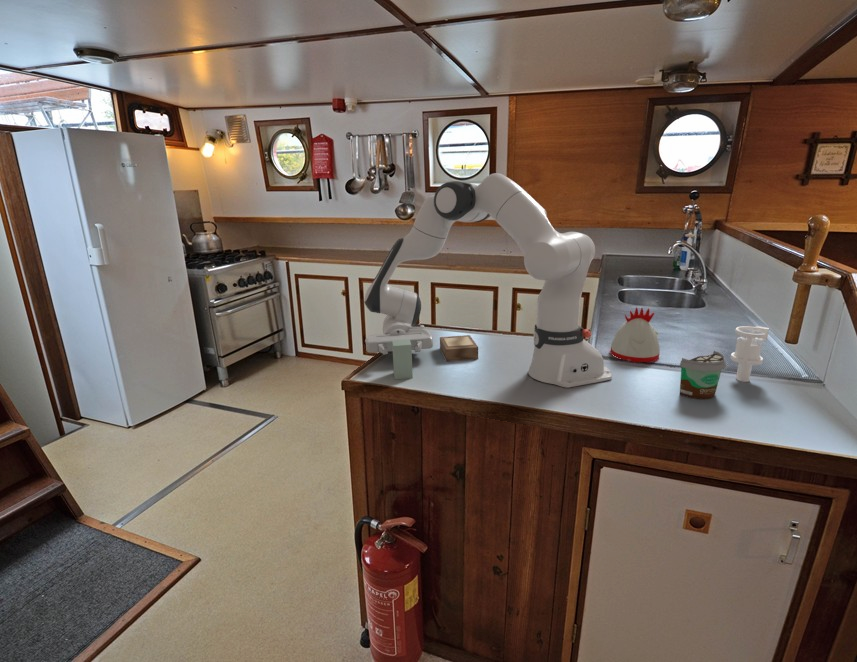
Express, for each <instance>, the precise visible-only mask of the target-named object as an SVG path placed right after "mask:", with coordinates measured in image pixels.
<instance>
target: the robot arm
mask: <svg viewBox="0 0 857 662" xmlns="http://www.w3.org/2000/svg"><path fill="white" fill-rule="evenodd" d="M490 217H491V218H492V219H493V220H494V221H495V222H496V223H497V224H498V225H499V226H500V227H501V228H502V229H503V230H504V231H505V232H506V233H507V234H508V235H509V236H510V237H511V239H512V240H513V241H514V242H515V244H517V246H518V248H519V249H520V252H521V253H522V255H523V265H524V268H525V270H526V272H527V273H528V274H529V275H530V277H532V278H533V279H536V280H539V281H544V284H543V286H542V288H541V291H540V293H539V294H538V296H537V299H536V300H537V301H536V305H537V306H536V324H535V325H534V329H533V330H534V331H533V345H534V347H533V354H532V359H531V362H530V365H529V369H528V371H527V373H528V375H529V376H530V377H531V378H532V379H534V380H536V381H539V382H542V383H545V384H553V385H557V386H559V387H562V388H572V387H578V386H583V385H584V386H585V385H589V384H594V383H595V384H596V383H601V382H605V381H611V380H612V378H613V375H612V372H611V370H610V369H609V368H608V367H607V366H606V365H605V364H604V357H603V355H602V353H601V352H600V350H598V349H597V348H596V347H594V346H593V345H592V344H590V343H589V342H588V341H587V340H586V339H590V338H591V336H592V331H590V330H589V329H587V328H585V329H584V328H583V327H582V326H580V325H579V320H580V319H579V318H580V309H581V308H580V305H581V299H582V294H583V290H584V286H585V283H586V279H587V276H588V272H589V268H590V265H591V263H592V260H594V258H595V254H596V245H595V243H594V241H593V240H592V238H591V237H590V236H589V235H588V234H585V233H581V232H579V231H578V232H577V231H567V232H563V233H560V231H557V230H556V229H555V228H554V227H553V224H551V222H550V220H549V219H548V214H547V210H546V209H545V208H544V207H543V206H542V205H541V204H540V203H539V202H538V201H536V200H535V198H533V197H532V196H531V195H530V194H529V193H528V191H526V190H525V189H524V188H523V187H521V186H520V185H519V184H518V183H516V182H515V181H514V180H512V179H511V178H509V177H507V176H506V175H505V174H503V173H499V172H497V173H495V172H494V173H491V174H489V175H488V176H486V177H485V178H483V180H482V181H481V183H479V184H478V185H477V184H473V183H470V182H465V181H459V180H453V181H448V182H447V181H446V182H444V183H442V184H440V186H439V187H438V188H437V189H436V191H435V193H434V194H432V195H429V196H427V197H426V198H425V200H424V201H423V203H422V204H421V207H420V208H419V210H418V213H417V214H416V218H415V219H414V223H413V226H412V227H411V229H410V231H409V232H408V233H407V234H406V235H405V236H404V237H400V238H398V239H397V240H396V241H395V243H394V244H393V245H392V247H391V248H390V250H389V252H388V254H387V256H386V258H385V259H384V261H383V263H382V265H381V267H380V269H379V271H378V273H377V274H376V276H375V277H374V279H373V281H372V282H371V284H370V285H369V287H368V288H367V290H366V292H365V294H364V304H365V306H366V308H367V309H368V311H369V312H370V313H375V314H382V315H385V318H384V319H383V322H382V333H381V334H371V335H368V336H367V338H365V340H364V342H365V344H366V345H365V348H366V352H367V353H369V354H375V353H376V354H377V353H381V354H382V355H384V356H385V355H388V354H389V352H393V349H392V340H402V339H410V342H411V348H412V351H414V352H415V353H420V352H421V350H427V349H429V350H430V349H432V348H433V346H434V345H433V344H434V341H433V335H432V334H431V333H430V331H429V330H428V329H426V328H425V325H423V324H417V322H418V320H419V318H420V316H421V311H422V301H421V298H420V296H419V294H418V293H417V292H414V291H410V290H407V289H403V288H400V287H397V286H394V285H393V286H392V285H390V284H388V283H389V281H390V280H391V277H392V276H393V274H394V272H395V271H396V269H397V267H398V266H399V265H400V264H403V263H404V262H409V261H422V260H428V259H431V258H434V257H436V256H437V255H439V254H440V253H441V251H442V249H444V246H445V243H446V241H447V239H448V235H449V233H450V229H451V227H452V226H453V225H454V223H456V222H461V223H481V222H484V221H486V220H487V219H489V218H490ZM584 338H586V339H584Z"/></svg>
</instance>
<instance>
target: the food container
mask: <svg viewBox="0 0 857 662" xmlns="http://www.w3.org/2000/svg"><path fill="white" fill-rule="evenodd" d="M726 366H727V363H726V359H725V356H724V355H723V354H722V353H720V352H719V351H716V350H713V354H709V355H699V356H697V357H694V358H691V359H687V358H683V357H682V358H681V361H680V363H679V367H681V369H680V384H679V385H680V386H679V395H680V396H683V397H686V398H689V399H695V400H710V399H713V398H715V396H716V392H717V387H718V386H719V381H720V378H721V373H722V371H723V370H724V369H725V368H726Z"/></svg>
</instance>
